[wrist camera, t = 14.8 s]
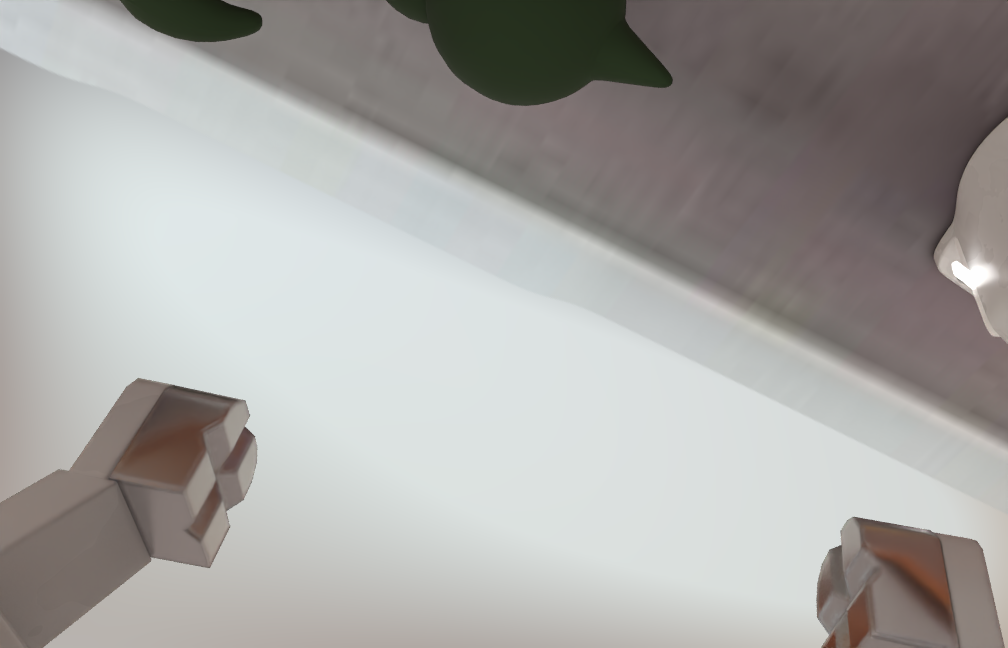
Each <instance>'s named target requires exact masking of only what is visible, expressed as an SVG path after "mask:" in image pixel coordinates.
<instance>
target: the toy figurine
mask: <svg viewBox="0 0 1008 648" xmlns="http://www.w3.org/2000/svg"><path fill="white" fill-rule="evenodd" d="M120 1H121V2H122V3H123V5H124V6H125V7H126V8H127V10H128V11H129V12H130V13H131V14H132V15H133V16H134V17H135V18H136V19H138V20H139V21H141V22H142V23H144V24H146V25H147V26H149V27H150V28H152V29H154V30H156V31H158V32H161V33H163V34H166V35H169V36H171V37H174V38H178V39H184V40H189V41H195V42H217V41H226V40H231V39H236V38H240V37H244V36H248V35H251V34H253V33H255V32H257V31H258V30H260V28H261V26H262V18H261V16H260V15H259V14H258V13H256V12H254V11H252V10H248V9H245V8H241V7H237V6H234V5H231V4H228V3H226V2H224V1H222V0H120ZM386 1H387V2H388V3H389V4H390V5H391V6H392V7H394V8H395V9H396V10H397V11H398V12H400V13H402V14H403V15H405V16H406V17H408V18H410V19H413V20H416V21H419V22H422V23H428V24H429V28H430V31H431V35H432V38H433V41H434V43H435V46H436V48H437V50H438V52H439V53H440V55H441V56H442V58H443V59H444V61H445V62H446V64H447V66H448V67H449V68H450V70H451V71H452V72H453V73H454V74H455V76H456V77H458V78H459V79H460V80H461V81H462V82H463V83H465V84H466V85H468V86H469V87H471V88H472V89H474V90H475V91H477V92H478V93H480V94H482V95H484V96H486V97H488V98H490V99H492V100H495V101H498V102H501V103H505V104H510V105H521V106H528V105H539V104H544V103H549V102H553V101H556V100H559V99H561V98H564V97H567V96H569V95H571V94H573V93H575V92H576V91H578V90H580V89H581V88H582V87H584V86H585V85H587V84H588V83H589V82H591V81H593V80H604V81H612V82H619V83H626V84H634V85H641V86H648V87H658V88H665V87H669V86H670V85H671V84H672V81H673V79H672V77H671V75H670V73H669V72H668V71H667V69H666V68H665V67H664V66H663V65H662V63H661V62H660V61H659V60H658V59H657V58H656V57H655V55H654V54H653V53H652V52H651V51H650V50H649V49H648V48H647V46H646V45H645V44H644V43H643V42H642V41H641V40H640V39H639V37H638V36H637V35H636V34H635V33H634V32H633V31H632V29H631V28H630V27H629V25H628V24H627V22H626V20H625V12H626V0H386Z"/></svg>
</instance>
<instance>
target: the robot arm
mask: <svg viewBox="0 0 1008 648" xmlns="http://www.w3.org/2000/svg"><path fill="white" fill-rule="evenodd" d="M934 260H935V263H936V265H937V267H938V270H939V271H940V272H941V273H942V274H943V275H944V276H945V277H947V278H948V279H950V280H951V281H953V282H954V283H955V284H957V285H958V286H960V287H961V288H963V289H964V290H966V291H967V292H968V293H970V294H971V295H973V296H974V297H975V300H976V302H977V305H978V308H979V310H980V313H981V316H982V318H983V321H984V324H985V326H986V328H987V330H988V331H989V333H990V334H991V335H992V336H994V337H1001V338H1002V339H1003V340H1004V341H1005V342H1007V343H1008V117H1007V118H1006V119H1005V120H1004V121H1003V122H1001V123H1000V124H999V125H998V126H997V127H996V128H995V129H994V130H993V131H992V132H991V133H990V134H989V135H988V136H987V137H986V138H985V139H984V141H983V142H982V143H981V144H980V146H979V147H978V148H977V150H976V151H975V153H974V154H973V155H972V157H971V159H970V160H969V162H968V164H967V166H966V168H965V170H964V173H963V175H962V178H961V181H960V184H959V188H958V193H957V201H956V210H955V216H954V219H953V222H952V224H951V226H950V227H949V228H948V230H947V231H946V233H945V234H944V236H943V237H942V239H941V240H940V242H939V244H938V245H937V247H936V249H935V252H934ZM249 417H250V414H249V411H248V407H247V404H246V401H245V400H241V399H236V398H231V397H227V396H222V395H217V394H213V393H207V392H203V391H198V390H194V389H189V388H184V387H180V386H175V385H171V384H166V383H161V382H156V381H151V380H145V379H141V378H138V379H136V380H135V381H134V382H132V383H131V384H130V385H129V386H127V387H126V388H125V390H124V391H123V393H122V394H121V396H120V397H119V399H118V400H117V401H116V403H115V404H114V406H113V407H112V409H111V410H110V412H109V413H108V415H107V416H106V418H105V419H104V421H103V422H102V424H101V425H100V426H99V428H98V429H97V431H96V432H95V434H94V435H93V437H92V438H91V440H90V441H89V442H88V444H87V445H86V447H85V448H84V450H83V451H82V453H81V454H80V456H79V457H78V459H77V460H76V461H75V463H74V464H73V466H72V467H71V469H70V470H69V471H66V470H60V469H59V470H57V471H55V472H53V473H52V474H50V475H48V476H46V477H45V478H43V479H41V480H39V481H38V482H36V483H34V484H32V485H31V486H29V487H27V488H25V489H24V490H22V491H20V492H18V493H17V494H15V495H13V496H11V497H10V498H8V499H6V500H4V501H3V502H1V503H0V648H43V647H44V646H45V645H46V644H48V643H49V642H50V641H52V640H53V639H54V638H55V637H57V636H58V635H59V634H60V633H62V632H63V631H64V630H65V629H67V628H68V627H69V626H70V625H72V624H73V623H74V622H75V621H77V620H78V619H79V618H80V617H81V616H83V615H84V614H85V613H87V612H88V611H89V610H90V609H92V608H93V607H94V606H95V605H96V604H98V603H99V602H100V601H102V600H103V599H104V598H105V597H107V596H108V595H109V594H110V593H112V592H113V591H114V590H115V589H117V588H118V587H119V586H120V585H122V584H123V583H124V582H126V581H127V580H128V579H129V578H130V577H132V576H133V575H134V574H136V573H137V572H138V571H139V570H141V569H142V568H143V567H144V566H146V565H147V564H148V563H149V562H151V558H150V557H153V558H158V559H164V560H169V561H174V562H179V563H185V564H190V565H195V566H201V567H206V568H210V567H211V564H212V562H213V560H214V558H215V556H216V554H217V552H218V550H219V548H220V546H221V544H222V542H223V540H224V538H225V536H226V534H227V532H228V530H229V528H230V525H229V521H228V517H227V513H226V511H227V510H229V509H230V508H232V507H233V506H235V505H236V504H238V503H239V502H241V501H242V500H244V498H245V495H246V493H247V491H248V489H249V487H250V484H251V483H252V479H253V475H254V471H255V468H256V463H257V444H256V439H255V436H254V435H253V434H252V433H251V432H250V431H249V430H248V429H247V428H246V427H245V424H246V423H247V420H248V419H249ZM841 544H842V545H840V546H838V547H835V548H833V549H830V550H829V552H828V554H827V556H826V557H825V559H824V561H823V563H822V566H821V571H820V575H819V579H818V583H817V618H818V620H819V621H820V623H821V624H822V625H823V627H824V628H825V630H826V631H827V632H828V634H829V636H828V638H827V639H826V641H825V643H824V644H823V646H822V647H821V648H1005V647H1004V642H1003V638H1002V634H1001V630H1000V625H999V620H998V616H997V611H996V606H995V602H994V598H993V593H992V589H991V584H990V580H989V575H988V571H987V566H986V562H985V557H984V553H983V549H982V548H981V546H980V545H979V543H978V542H977V541H975V540H972V539H968V538H963V537H957V536H951V535H945V534H940V533H934V532H932V531H930V530H925V529H920V528H914V527H908V526H903V525H897V524H891V523H885V522H880V521H875V520H868V519H863V518H858V517H852V518H851V519H849V520H847V522H846V523H845V525H844V526H843V528H842V530H841Z"/></svg>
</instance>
